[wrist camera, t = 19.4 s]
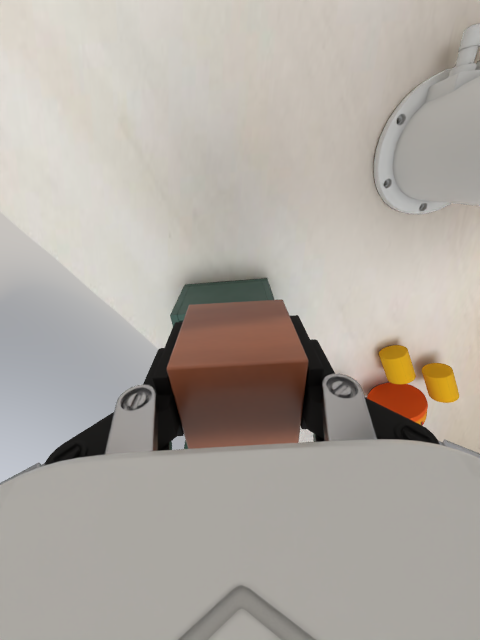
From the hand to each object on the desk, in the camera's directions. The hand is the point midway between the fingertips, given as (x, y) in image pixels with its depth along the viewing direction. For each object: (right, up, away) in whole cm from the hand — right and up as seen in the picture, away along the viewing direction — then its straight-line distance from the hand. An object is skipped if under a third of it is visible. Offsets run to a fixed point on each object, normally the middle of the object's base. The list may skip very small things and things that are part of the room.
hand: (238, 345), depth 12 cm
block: (0, 0, 0) cm, 0 cm away
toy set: (+24, -12, +33) cm, 42 cm away
